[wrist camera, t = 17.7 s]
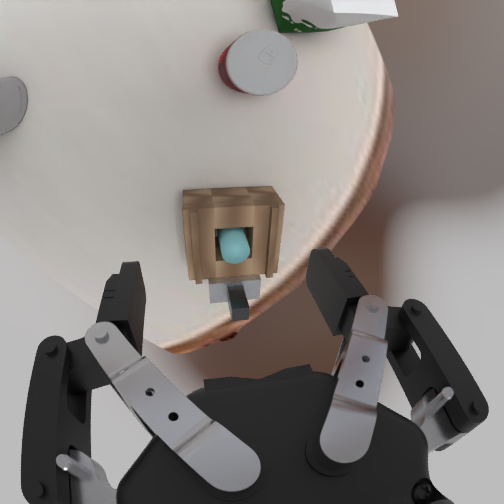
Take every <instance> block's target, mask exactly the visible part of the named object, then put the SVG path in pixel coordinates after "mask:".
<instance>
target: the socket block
mask: <svg viewBox="0 0 504 504" xmlns="http://www.w3.org/2000/svg"><path fill="white" fill-rule="evenodd" d="M284 205H285V204H284V203H283V202H282V200H281V199H280V197H279V196H278V194H277V193H276V191H275V190H274V189H273V187H272V186H265V187H235V188H214V189H197V190H183V207H182V211H183V224H184V235H185V246H186V256H187V265H188V274H189V280H196V284H202V279H213V278H225V277H236V276H248V275H259V274H265V275H266V278H270V277H273V273H277V269H278V260H279V252H280V243H281V234H282V225H283V215H284ZM237 227H244V233H245V236H246V239H247V241H248V244H249V247H250V254H249V256H248V258H247V259H246V260H244V261H243V262H241V263H237V264H232V263H228V262H226V261H225V260H224V259H223V257H222V253H221V248H220V243H219V238H218V237H215V229H222V228H237Z"/></svg>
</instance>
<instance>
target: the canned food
mask: <svg viewBox="0 0 504 504" xmlns="http://www.w3.org/2000/svg"><path fill="white" fill-rule="evenodd" d="M297 64H298V60H297V54H296V51H295V48H294V47H293V45H292V43H291V42H290V41H289V40H288V39H287V38H286V37H285V36H283V35H282V34H280V33H278V32H275V31H272V30H265V29H261V30H254V31H250V32H247V33H245V34H243V35H241V36H240V37H239V38H237V39H236V40H235V41H234V42H233V43H232V44H231V45H230V46H229V47H227V48H226V50H225V51H224V52H223V53H222V55H221V57H220V60H219V65H218V69H219V74H220V77H221V79H222V80H223V82H224V83H225V84H226V85H227V86H228V87H230V88H231V89H234V90H236V91H240V92H243V93H247V94H251V95H260V96H263V95H270V94H273V93H276V92H278V91H280V90H282V89H283V88H285V87H286V86H287V85H288V84H289V83H290V82H291V80H292V79H293V77H294V75H295V73H296V70H297Z"/></svg>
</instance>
